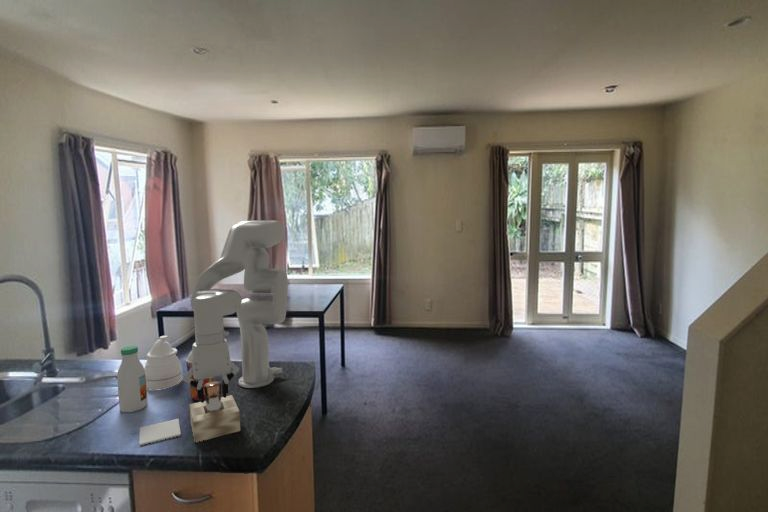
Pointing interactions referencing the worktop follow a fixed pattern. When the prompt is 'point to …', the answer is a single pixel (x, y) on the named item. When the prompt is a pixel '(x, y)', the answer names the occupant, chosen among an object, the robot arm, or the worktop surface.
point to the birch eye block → (214, 419)
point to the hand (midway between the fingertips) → (213, 397)
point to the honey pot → (162, 366)
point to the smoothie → (205, 381)
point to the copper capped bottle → (213, 396)
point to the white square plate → (159, 431)
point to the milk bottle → (131, 381)
